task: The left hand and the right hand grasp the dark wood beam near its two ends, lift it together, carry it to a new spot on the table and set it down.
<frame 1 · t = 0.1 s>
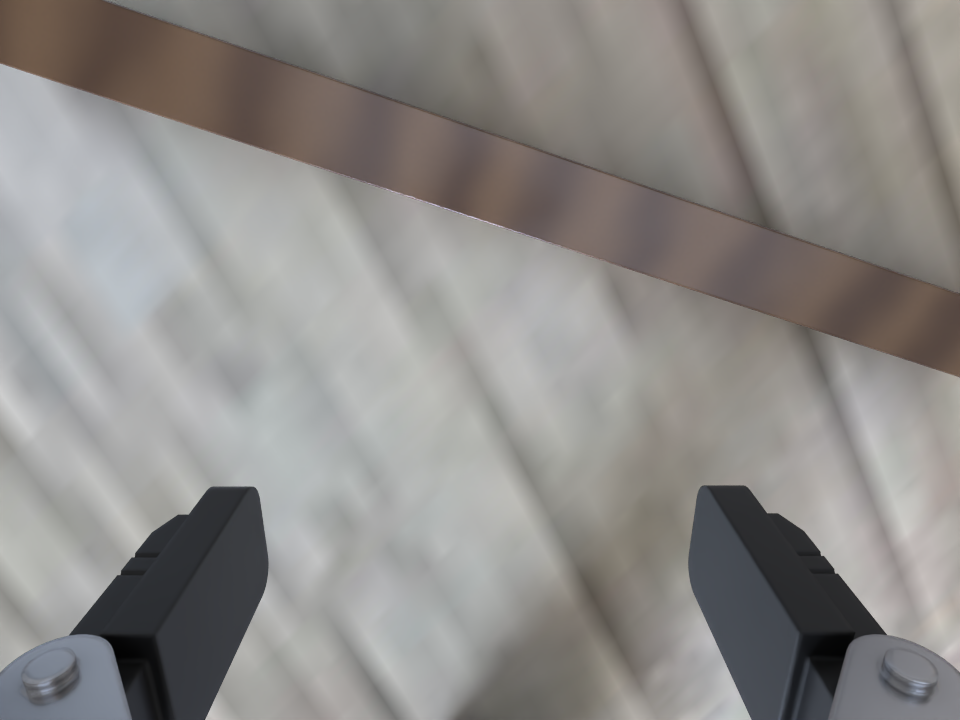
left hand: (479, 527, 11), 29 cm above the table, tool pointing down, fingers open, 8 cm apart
beam: (546, 189, 38), on the table
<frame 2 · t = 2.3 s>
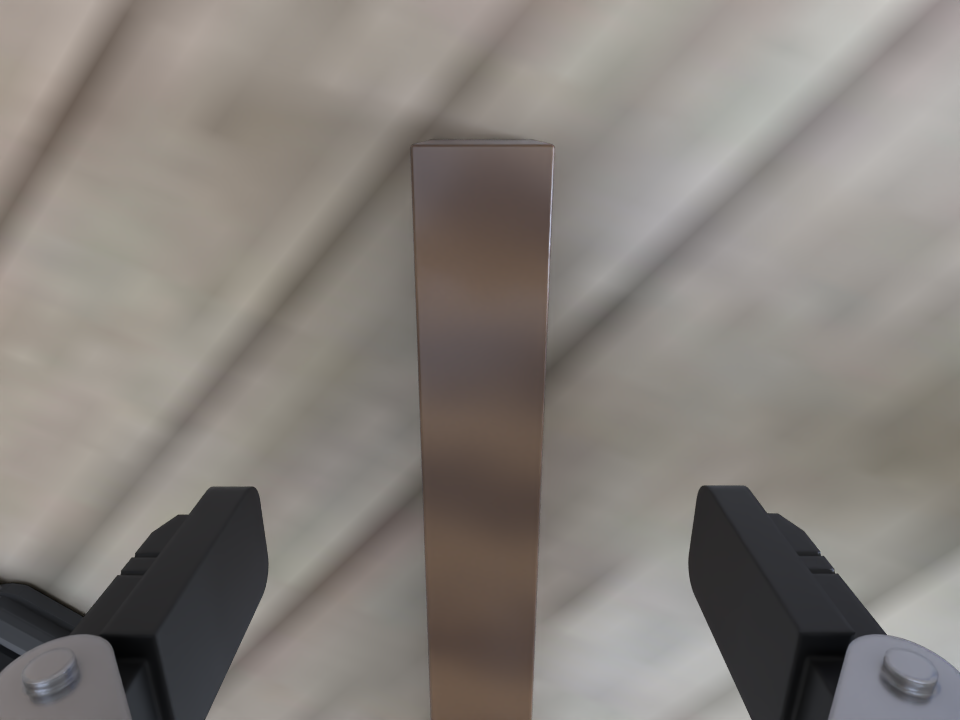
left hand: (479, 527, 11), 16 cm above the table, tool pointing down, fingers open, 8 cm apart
beam: (480, 696, 34), on the table
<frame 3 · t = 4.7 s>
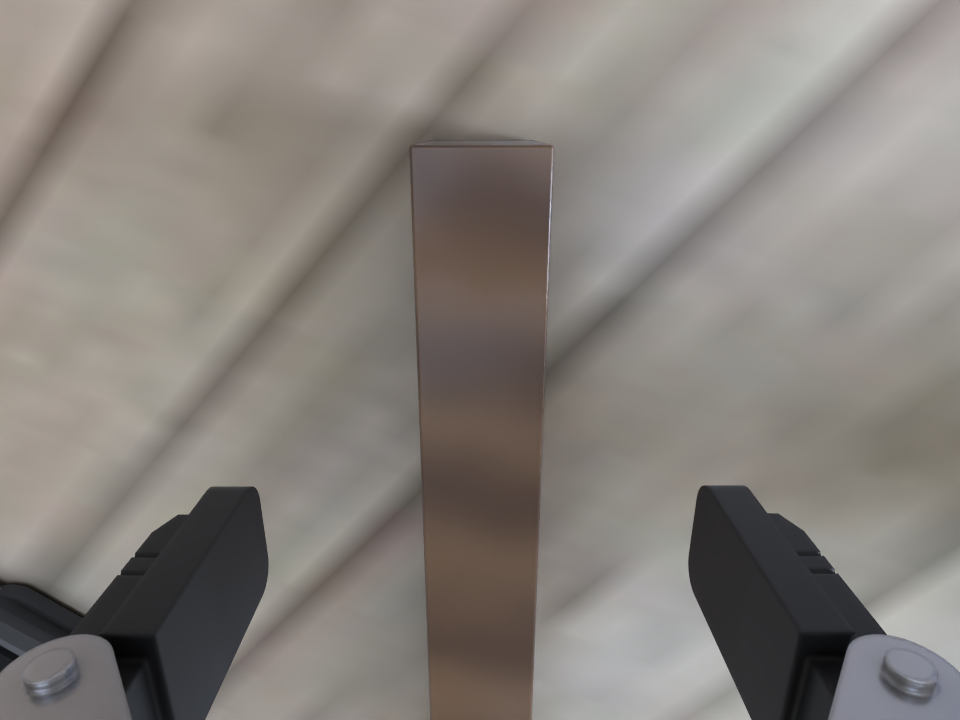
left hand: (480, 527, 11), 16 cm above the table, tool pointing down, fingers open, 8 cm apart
beam: (480, 697, 34), on the table, touching right hand
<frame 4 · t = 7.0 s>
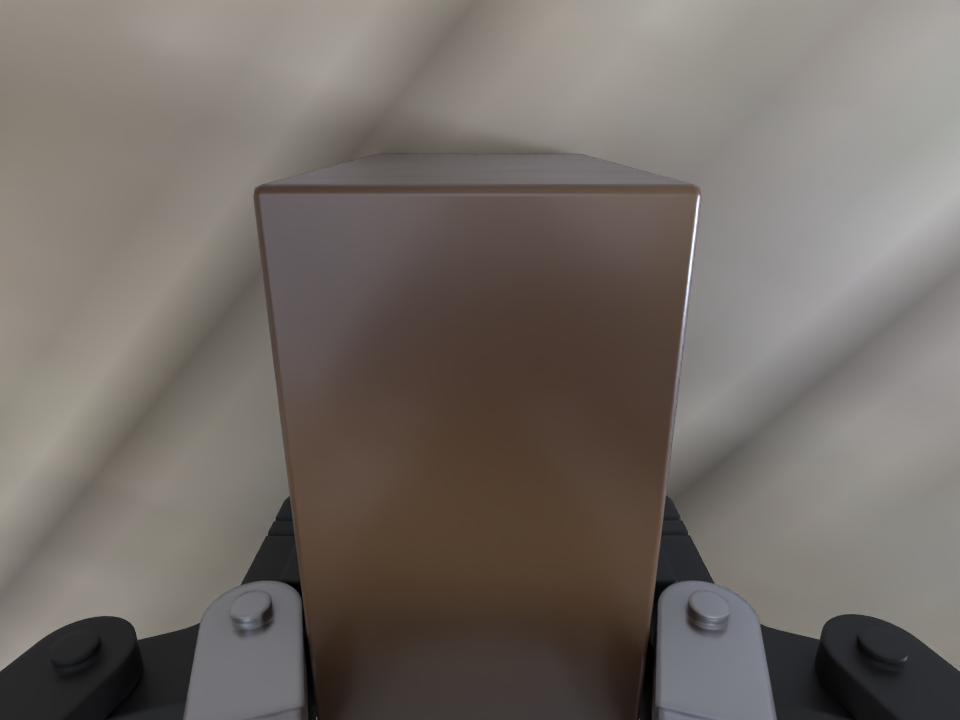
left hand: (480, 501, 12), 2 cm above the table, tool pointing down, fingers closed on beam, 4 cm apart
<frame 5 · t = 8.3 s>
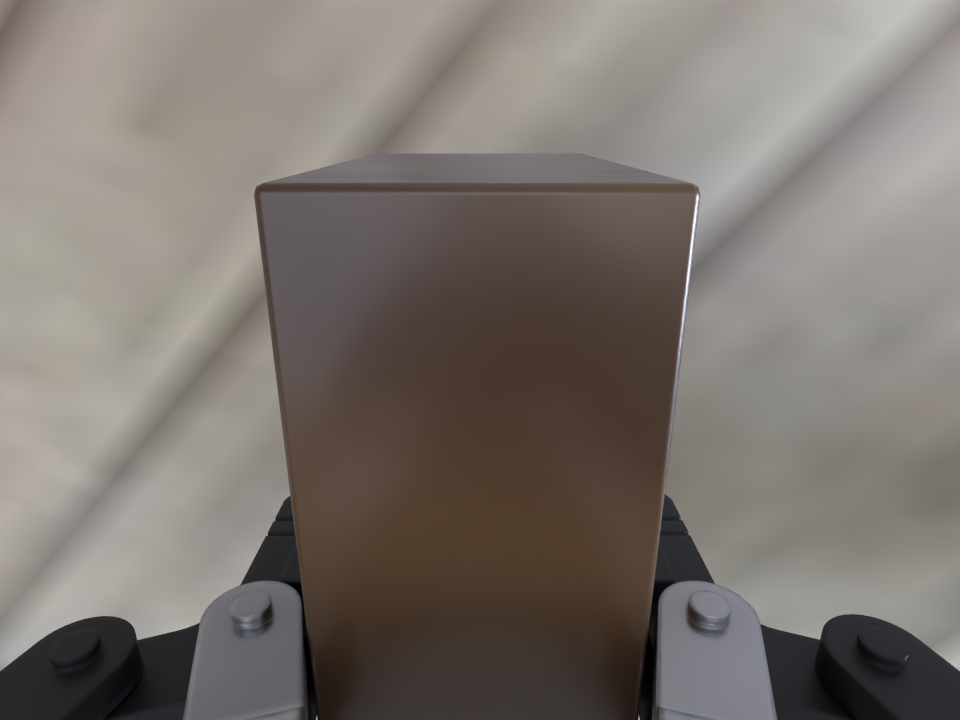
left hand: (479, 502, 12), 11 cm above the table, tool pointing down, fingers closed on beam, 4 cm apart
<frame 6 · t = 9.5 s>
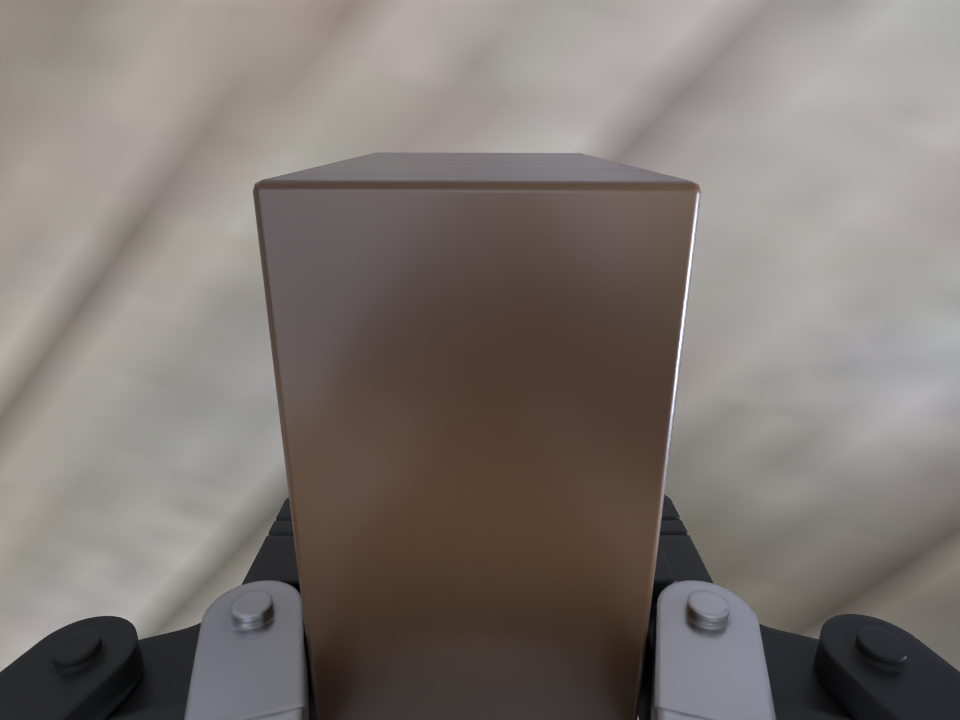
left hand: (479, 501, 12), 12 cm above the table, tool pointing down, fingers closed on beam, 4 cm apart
when the left hand's fingers open (3 cm above the table, at t = 12.0 s): beam drops 1 cm, on the table.
when the right hand's fingers open (5 cm above the table, at t = 12.0 s): beam drops 1 cm, on the table.
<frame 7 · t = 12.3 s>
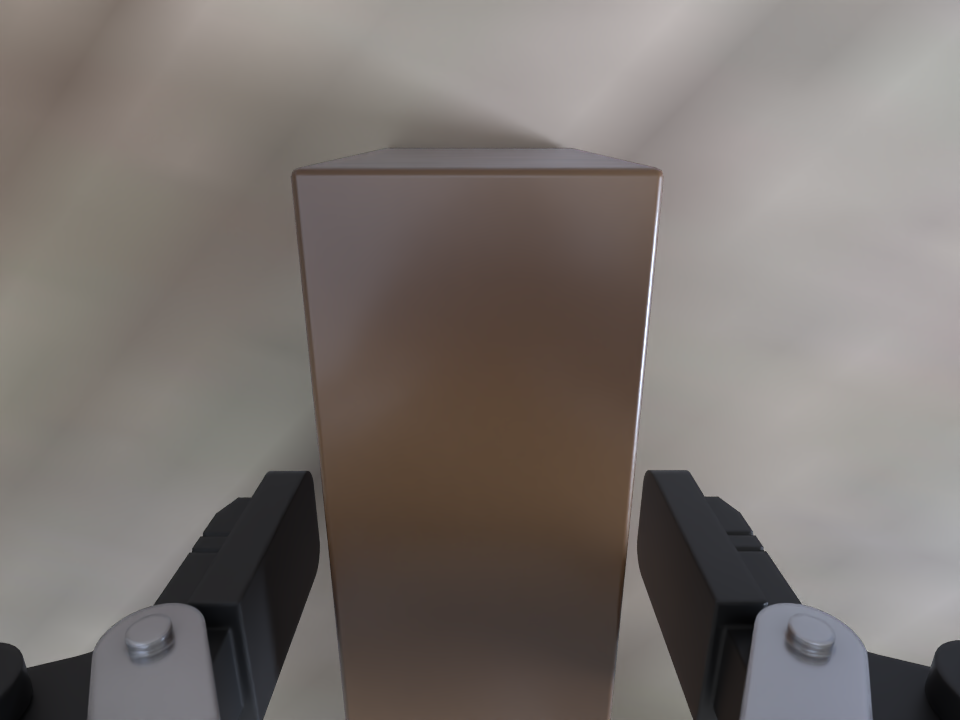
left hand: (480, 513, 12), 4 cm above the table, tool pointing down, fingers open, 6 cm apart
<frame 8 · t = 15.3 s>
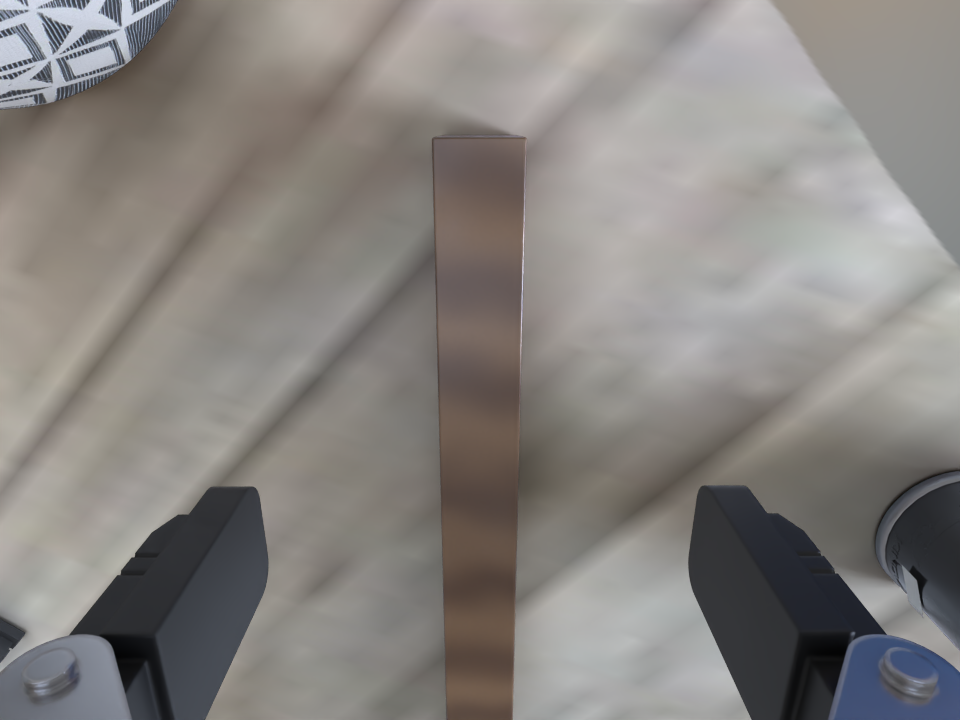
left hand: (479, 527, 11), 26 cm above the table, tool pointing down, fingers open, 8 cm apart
beam: (479, 573, 43), on the table
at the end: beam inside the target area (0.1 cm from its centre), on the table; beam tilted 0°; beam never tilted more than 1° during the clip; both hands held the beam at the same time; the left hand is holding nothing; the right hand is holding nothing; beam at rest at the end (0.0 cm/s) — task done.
